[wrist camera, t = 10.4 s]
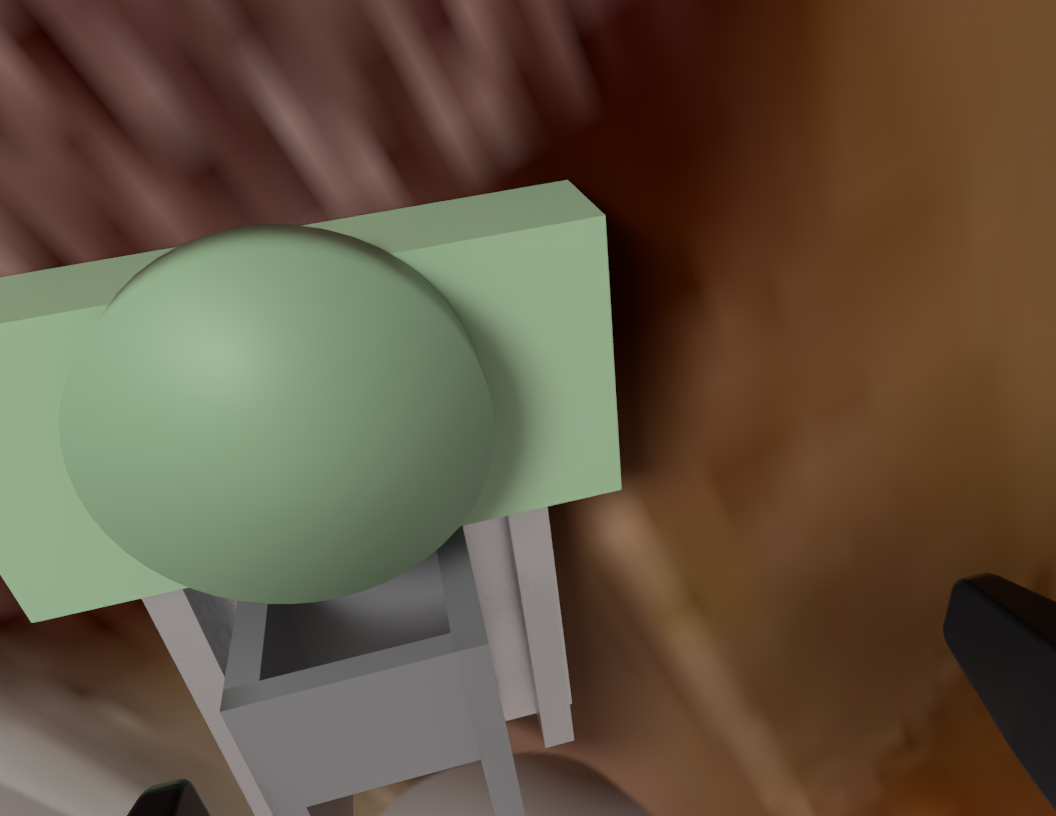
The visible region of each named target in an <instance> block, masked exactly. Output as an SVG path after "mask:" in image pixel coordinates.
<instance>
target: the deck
mask: <svg viewBox="0 0 1056 816" xmlns="http://www.w3.org/2000/svg"><path fill="white" fill-rule="evenodd" d="M618 490H622V486H621V469H620V452H619V435H618V418H617V401H616V384H615V368H614V351H613V334H612V317H611V300H610V283H609V266H608V249H607V232H606V215H605V214H604V213H603V212H601V211H600V210H599V209H598V208H597V207H596V206H595V205H594V204H593V203H592V202H591V201H590V200H589V199H588V198H586V197H585V196H584V195H583V194H582V193H581V192H580V191H579V190H578V189H577V188H576V187H575V186H574V185H573V184H572V183H570V182H569V181H568V180H564V181H558V182H553V183H547V184H541V185H535V186H529V187H524V188H518V189H512V190H506V191H500V192H494V193H489V194H483V195H477V196H471V197H465V198H459V199H454V200H448V201H442V202H436V203H430V204H425V205H419V206H413V207H407V208H401V209H395V210H390V211H384V212H378V213H372V214H366V215H361V216H355V217H349V218H343V219H337V220H331V221H326V222H320V223H314V224H308V225H302V226H300V225H277V224H264V225H255V226H245V227H236V228H232V229H228V230H224V231H220V232H215V233H211V234H208V235H205V236H202V237H200V238H197V239H194V240H192V241H189V242H187V243H184V244H181V245H180V246H178V247H174V248H168V249H163V250H157V251H151V252H145V253H139V254H134V255H128V256H122V257H116V258H110V259H104V260H99V261H93V262H87V263H81V264H75V265H69V266H64V267H58V268H52V269H46V270H40V271H35V272H29V273H23V274H17V275H11V276H5V277H0V575H1V576H2V578H3V579H4V581H5V583H6V584H7V586H8V587H9V589H10V590H11V592H12V593H13V595H14V597H15V598H16V600H17V601H18V603H19V604H20V606H21V608H22V609H23V611H24V612H25V614H26V615H27V617H28V618H29V620H30V622H31V623H35V622H39V621H43V620H48V619H52V618H57V617H61V616H66V615H70V614H74V613H79V612H83V611H88V610H92V609H97V608H101V607H105V606H110V605H114V604H119V603H123V602H127V601H132V600H136V599H142V601H143V603H144V604H145V606H146V608H147V610H148V612H149V614H150V616H151V618H152V620H153V622H154V624H155V626H156V627H157V629H158V631H159V633H160V635H161V637H162V639H163V641H164V643H165V645H166V647H167V648H168V650H169V652H170V654H171V656H172V658H173V660H174V662H175V664H176V666H177V668H178V670H179V671H180V673H181V675H182V677H183V679H184V681H185V683H186V685H187V687H188V689H189V691H190V693H191V694H192V696H193V698H194V700H195V702H196V704H197V706H198V708H199V710H200V712H201V714H202V716H203V717H204V719H205V721H206V723H207V725H208V727H209V729H210V731H211V733H212V735H213V737H214V739H215V740H216V742H217V744H218V746H219V748H220V750H221V752H222V754H223V756H224V758H225V760H226V761H227V763H228V765H229V767H230V769H231V771H232V773H233V775H234V777H235V779H236V781H237V783H238V784H239V786H240V788H241V790H242V792H243V794H244V796H245V798H246V800H247V802H248V804H249V806H250V807H251V809H252V811H253V813H254V815H255V816H273V814H272V812H271V810H270V808H269V807H268V805H267V803H266V801H265V799H264V797H263V795H262V793H261V791H260V789H259V787H258V785H257V783H256V781H255V780H254V778H253V776H252V774H251V772H250V770H249V768H248V766H247V764H246V762H245V760H244V758H243V756H242V754H241V753H240V751H239V749H238V747H237V745H236V743H235V741H234V739H233V737H232V735H231V733H230V731H229V729H228V727H227V726H226V724H225V722H224V720H223V718H222V716H221V714H220V706H221V700H222V693H223V687H224V681H225V674H226V668H227V662H228V656H229V649H230V643H231V637H232V630H233V624H234V618H235V612H236V605H237V600H238V601H244V602H253V603H263V604H298V603H310V602H319V601H324V600H330V599H335V598H341V597H344V596H348V595H351V594H355V593H358V592H362V591H365V590H368V589H370V588H373V587H375V586H378V585H380V584H383V583H385V582H387V581H389V580H391V579H393V578H395V577H397V576H399V575H401V574H403V573H405V572H407V571H408V570H410V569H411V568H413V567H414V566H416V565H417V564H419V563H420V562H422V561H423V560H425V559H426V558H427V557H429V556H430V555H431V554H432V553H433V552H435V551H436V550H437V549H438V548H439V547H441V546H442V545H443V544H444V543H445V542H446V541H447V540H448V539H449V538H450V537H451V535H452V534H453V533H454V532H455V531H456V530H457V529H458V528H459V527H460V526H463V530H464V535H465V539H466V544H467V548H468V553H469V557H470V562H471V566H472V571H473V575H474V580H475V584H476V589H477V593H478V598H479V602H480V607H481V611H482V616H483V620H484V625H485V629H486V634H487V638H488V643H489V648H490V652H491V657H492V662H493V666H494V671H495V676H496V680H497V685H498V690H499V694H500V699H501V704H502V708H503V713H504V718H505V721H508V720H512V719H516V718H520V717H524V716H527V715H531V714H535V713H536V714H537V718H538V722H539V725H540V729H541V733H542V737H543V741H544V744H545V748H548V747H551V746H555V745H559V744H563V743H566V742H570V741H574V733H573V725H572V718H571V710H570V704H572V698H571V690H570V682H569V674H568V666H567V658H566V650H565V642H564V634H563V626H562V618H561V610H560V602H559V594H558V586H557V578H556V570H555V562H554V554H553V546H552V538H551V530H550V522H549V514H548V506H552V505H557V504H561V503H565V502H570V501H574V500H579V499H583V498H587V497H592V496H596V495H601V494H605V493H610V492H614V491H618Z"/></svg>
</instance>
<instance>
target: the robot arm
mask: <svg viewBox="0 0 1056 816" xmlns="http://www.w3.org/2000/svg"><path fill="white" fill-rule="evenodd" d="M943 633H944V637H945V640H946V643H947V645H948V647H949V649H950V650H951V652H952V654H953V655H954V657H955V659H956V660H957V662H958V663H959V665H960V667H961V668H962V670H963V672H964V673H965V675H966V677H967V678H968V680H969V681H970V683H971V685H972V686H973V688H974V690H975V691H976V693H977V695H978V696H979V698H980V699H981V701H982V703H983V704H984V706H985V708H986V709H987V711H988V713H989V714H990V716H991V717H992V719H993V721H994V722H995V724H996V726H997V727H998V729H999V731H1000V732H1001V734H1002V735H1003V737H1004V739H1005V740H1006V742H1007V744H1008V745H1009V747H1010V748H1011V750H1012V751H1013V753H1014V754H1015V756H1016V757H1017V759H1018V761H1019V762H1020V764H1021V765H1022V766H1023V768H1024V769H1025V771H1026V772H1027V773H1028V775H1029V776H1030V778H1031V779H1032V780H1033V782H1034V783H1035V784H1036V786H1037V787H1038V789H1039V790H1040V791H1041V793H1042V794H1043V795H1044V797H1045V798H1046V799H1047V801H1048V802H1049V803H1050V805H1051V806H1052V807H1053V809H1054V810H1055V811H1056V602H1055V601H1053V600H1051V599H1049V598H1046V597H1044V596H1042V595H1040V594H1038V593H1035V592H1033V591H1031V590H1029V589H1027V588H1025V587H1022V586H1020V585H1018V584H1016V583H1014V582H1011V581H1009V580H1007V579H1005V578H1003V577H1000V576H998V575H995V574H991V573H982V574H978V575H974V576H970V577H966V578H962V579H959V580H958V581H957V582H956V583H955V584H954V585H953V588H952V591H951V595H950V599H949V603H948V607H947V611H946V615H945V619H944V623H943ZM127 816H210V814H209V812H208V811H207V809H206V807H205V805H204V804H203V802H202V800H201V798H200V797H199V795H198V793H197V792H196V790H195V788H194V786H193V785H192V784H191V782H190V781H188V780H186V779H179V780H175V781H171V782H167V783H163V784H159V785H155V786H152V787H150V788H148V789H147V790H146V791H145V792H143V793H142V795H141V796H140V797H139V798H138V800H137V801H136V803H135V804H134V806H133V807H132V809H131V810H130V812H129V813H128V815H127Z"/></svg>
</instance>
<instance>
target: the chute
mask: <svg viewBox="0 0 1056 816" xmlns="http://www.w3.org/2000/svg"><path fill="white" fill-rule="evenodd" d="M220 714H221V716H222V718H223V720H224V722H225V724H226V726H227V727H228V729H229V731H230V733H231V735H232V737H233V739H234V741H235V743H236V745H237V747H238V749H239V751H240V753H241V754H242V756H243V758H244V760H245V762H246V764H247V766H248V768H249V770H250V772H251V774H252V776H253V778H254V780H255V781H256V783H257V785H258V787H259V789H260V791H261V793H262V795H263V797H264V799H265V801H266V803H267V805H268V807H269V808H270V810H271V812H272V814H273V816H353V794H357V793H360V792H364V791H368V790H371V789H375V788H379V787H382V786H386V785H390V784H393V783H397V782H401V781H404V780H408V779H412V778H416V777H419V776H423V775H427V774H430V773H434V772H438V771H441V770H445V769H449V768H452V767H456V766H460V765H463V764H467V763H471V762H474V761H478V760H481V762H482V766H483V770H484V774H485V778H486V782H487V786H488V790H489V793H490V798H491V802H492V806H493V810H494V813H495V816H525V811H524V806H523V802H522V797H521V792H520V788H519V783H518V779H517V774H516V769H515V764H514V760H513V755H512V750H511V746H510V741H509V736H508V732H507V727H506V722H505V718H504V713H503V708H502V704H501V699H500V694H499V690H498V685H497V680H496V676H495V671H494V666H493V662H492V657H491V652H490V648H489V643H488V638H487V634H486V629H485V625H484V620H483V616H482V611H481V607H480V602H479V598H478V593H477V589H476V584H475V580H474V575H473V571H472V566H471V562H470V557H469V553H468V548H467V544H466V539H465V535H464V530H463V526H460V527H459V528H458V529H457V530H456V531H455V532H454V533H453V534H452V535H451V537H450V538H449V539H448V540H447V541H446V542H445V543H444V544H443V545H442V546H441V547H439V548H438V549H437V550H436V551H435V552H433V553H432V554H431V555H430V556H429V557H427V558H426V559H425V560H423V561H422V562H420V563H419V564H417V565H416V566H414V567H413V568H411V569H410V570H408V571H407V572H405V573H403V574H401V575H399V576H397V577H395V578H393V579H391V580H389V581H387V582H385V583H383V584H380V585H378V586H375V587H373V588H370V589H368V590H365V591H362V592H358V593H355V594H351V595H348V596H344V597H341V598H335V599H330V600H324V601H319V602H310V603H298V604H263V603H253V602H244V601H238V600H237V605H236V612H235V618H234V624H233V630H232V637H231V643H230V649H229V656H228V662H227V668H226V674H225V681H224V687H223V693H222V700H221V706H220Z"/></svg>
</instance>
